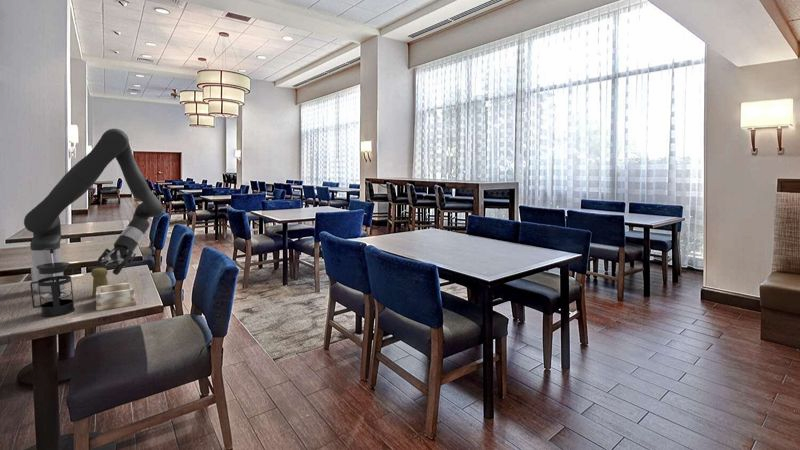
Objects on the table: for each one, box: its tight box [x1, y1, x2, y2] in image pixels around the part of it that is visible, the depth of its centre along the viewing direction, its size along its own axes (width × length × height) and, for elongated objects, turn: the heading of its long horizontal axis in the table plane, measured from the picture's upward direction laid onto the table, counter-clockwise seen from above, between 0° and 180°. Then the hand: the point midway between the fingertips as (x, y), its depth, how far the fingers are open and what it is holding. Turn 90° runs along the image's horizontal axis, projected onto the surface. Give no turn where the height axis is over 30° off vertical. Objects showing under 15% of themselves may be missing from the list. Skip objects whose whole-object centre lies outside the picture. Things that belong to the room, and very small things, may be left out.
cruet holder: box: [95, 281, 137, 311], centre depth 158 cm, size 12×14×6 cm
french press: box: [29, 247, 76, 318], centre depth 145 cm, size 12×9×23 cm
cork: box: [90, 267, 109, 299], centre depth 165 cm, size 6×6×11 cm
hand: (106, 272), depth 167 cm, fingers open, 8 cm apart
